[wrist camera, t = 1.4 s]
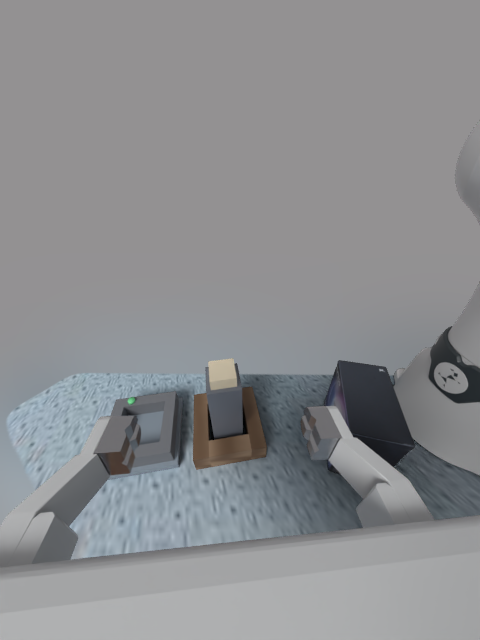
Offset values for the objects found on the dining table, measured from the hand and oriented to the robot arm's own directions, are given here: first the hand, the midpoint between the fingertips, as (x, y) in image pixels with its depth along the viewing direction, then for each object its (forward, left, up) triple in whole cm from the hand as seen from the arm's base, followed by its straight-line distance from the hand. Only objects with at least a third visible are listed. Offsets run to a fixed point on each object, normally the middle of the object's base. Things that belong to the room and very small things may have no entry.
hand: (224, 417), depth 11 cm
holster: (0, -11, -23) cm, 25 cm away
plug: (0, -11, -23) cm, 25 cm away
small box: (-17, -7, -23) cm, 29 cm away
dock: (+12, -12, -23) cm, 28 cm away
